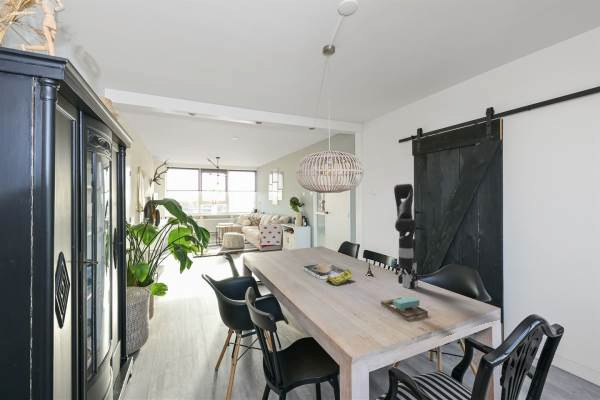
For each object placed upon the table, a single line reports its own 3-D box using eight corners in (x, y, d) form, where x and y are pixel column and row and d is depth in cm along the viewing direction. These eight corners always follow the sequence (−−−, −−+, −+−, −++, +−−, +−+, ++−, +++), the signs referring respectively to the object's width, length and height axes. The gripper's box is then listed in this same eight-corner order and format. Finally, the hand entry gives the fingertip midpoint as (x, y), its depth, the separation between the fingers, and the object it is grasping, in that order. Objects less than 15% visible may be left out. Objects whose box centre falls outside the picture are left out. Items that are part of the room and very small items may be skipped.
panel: (412, 306, 148) (412, 296, 148) (419, 310, 143) (419, 300, 143) (393, 310, 144) (393, 300, 144) (399, 314, 139) (399, 303, 139)
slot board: (400, 301, 158) (400, 297, 158) (427, 315, 139) (427, 311, 139) (381, 305, 153) (381, 301, 153) (406, 320, 134) (406, 315, 134)
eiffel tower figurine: (381, 277, 207) (381, 260, 207) (370, 279, 204) (369, 261, 204) (370, 272, 221) (370, 256, 221) (359, 274, 218) (359, 257, 218)
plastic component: (336, 282, 188) (327, 273, 195) (333, 290, 191) (324, 281, 198) (355, 275, 199) (346, 267, 206) (352, 283, 202) (344, 274, 209)
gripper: (421, 258, 139) (421, 289, 139) (402, 252, 152) (402, 281, 152) (410, 259, 136) (410, 291, 136) (391, 253, 149) (391, 282, 149)
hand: (406, 285), depth 144 cm, fingers open, 8 cm apart
